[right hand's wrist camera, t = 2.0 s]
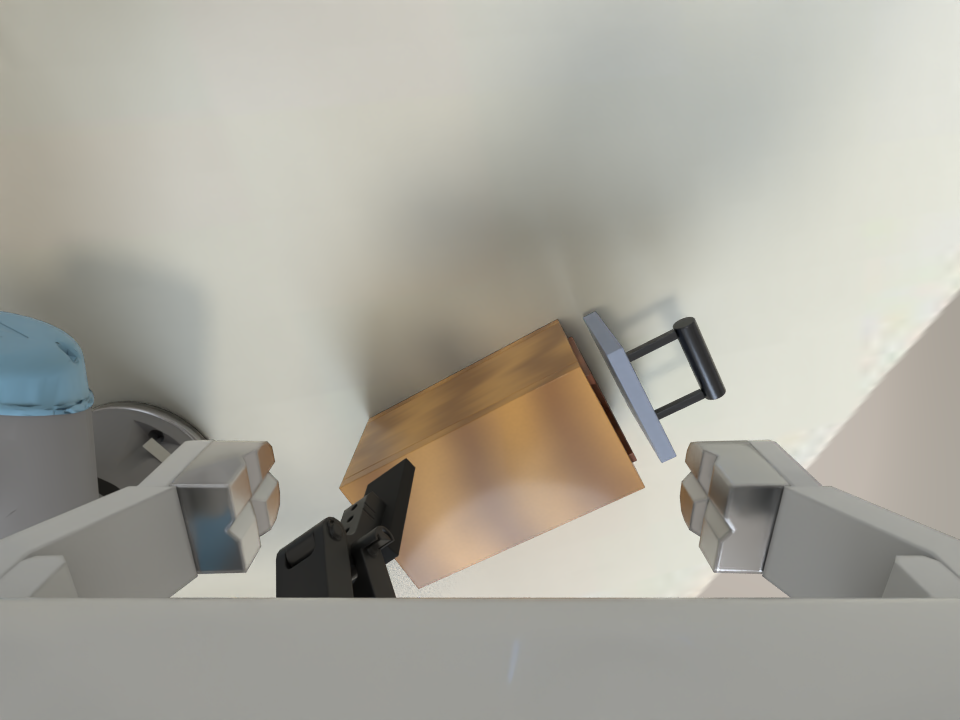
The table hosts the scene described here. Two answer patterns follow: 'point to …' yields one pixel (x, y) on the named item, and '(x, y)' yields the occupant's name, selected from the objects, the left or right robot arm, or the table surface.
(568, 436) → the cabinet
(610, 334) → the drawer
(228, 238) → the table surface
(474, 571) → the table surface
